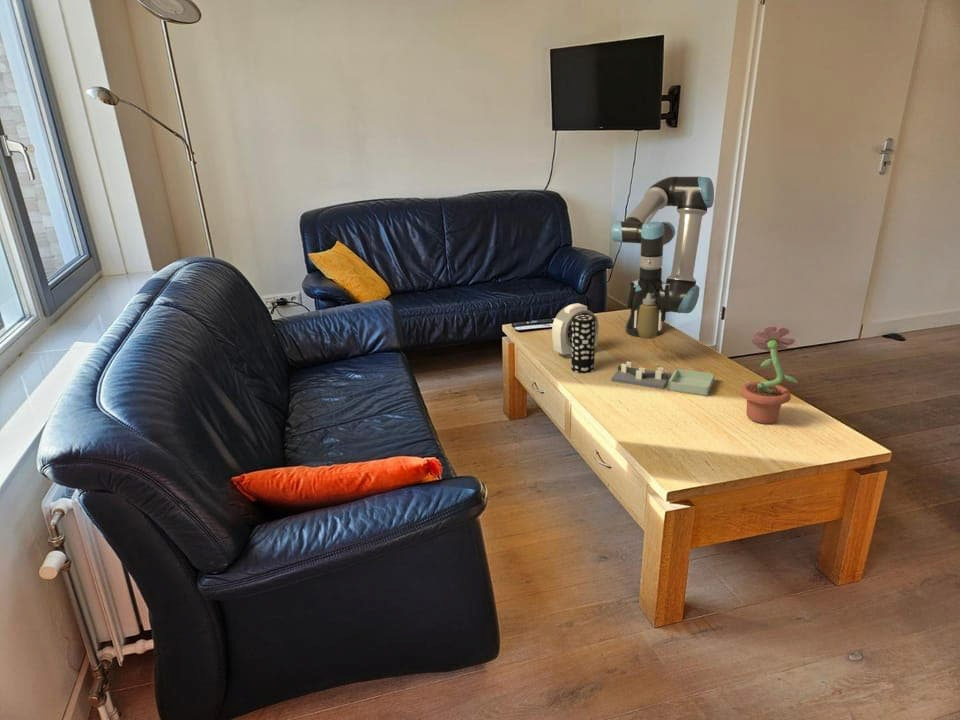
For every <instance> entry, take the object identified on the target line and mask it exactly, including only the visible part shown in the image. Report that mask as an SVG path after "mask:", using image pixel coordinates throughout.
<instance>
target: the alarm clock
mask: <svg viewBox="0 0 960 720" xmlns="http://www.w3.org/2000/svg"><path fill="white" fill-rule="evenodd" d="M579 314H588V315H593V316H595V348H596V347H597V344H598V338H599V328H600V327H599V326H600V324H599V318H598V315H597V314H595V313H593V312H592V311H591V310H588V306H587V305H584V304H581V303H579V302H577V303H572V304H569V305H567V306H565V307H563V308H562V309H561V310H559V312H558V313H557V314H556V316H555V318H554V320H553V322H552V325H551V326H552V327H551V337H552V338H551V339H552V346H553V351H555V352H557V353H558V354H560V356H562V357H563V358H566V359H571V357H572V317H573V316H574V315H579Z"/></svg>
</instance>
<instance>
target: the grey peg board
mask: <svg viewBox="0 0 960 720" xmlns="http://www.w3.org/2000/svg"><path fill="white" fill-rule="evenodd" d="M664 371H665V368H664V367H657V370H650V369H646V368H645V367H639V368H638V367H637V368H636V367H633V362H631V361H628V360H627V361H626V362H625V363H621V365H620V364H619V365H618V366H617V371H616V372H615V373H614V374H613V376H612V377H611V380H610V381H611V382H616V383H620V384H621V383H622V384H629V385H633V386H634V385H635V386H641V387H648V388H655V389H660V390H663V389H664V388H666V386H667V385H668V381H669V379H670V378H671V376H672V373H671V372H664Z"/></svg>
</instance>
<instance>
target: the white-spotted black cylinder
mask: <svg viewBox="0 0 960 720" xmlns="http://www.w3.org/2000/svg"><path fill="white" fill-rule="evenodd" d="M595 348H596V347H595V316H593V315H588V314H579V315H574V316H573V317H572V357H571V358H570V361H571V362H570V363H571V364H570V365H571V367H570V368H571V369H570V370H571V371H572V372H574V373H578V374H588V373H589V374H590V373H592V372H594V371H595Z"/></svg>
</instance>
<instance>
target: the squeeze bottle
mask: <svg viewBox="0 0 960 720" xmlns="http://www.w3.org/2000/svg"><path fill="white" fill-rule="evenodd" d="M659 313H660V311H659V312H658V305H657V304H656V299H655V298H653V295H652V293H647V295H646V298H643V304H641V305H640V308H639V315H638V322H637V330H638V333H639V336H640V338H642V339H647V340H650V339H654V338H656V335H657V332H658V323H659Z"/></svg>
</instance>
